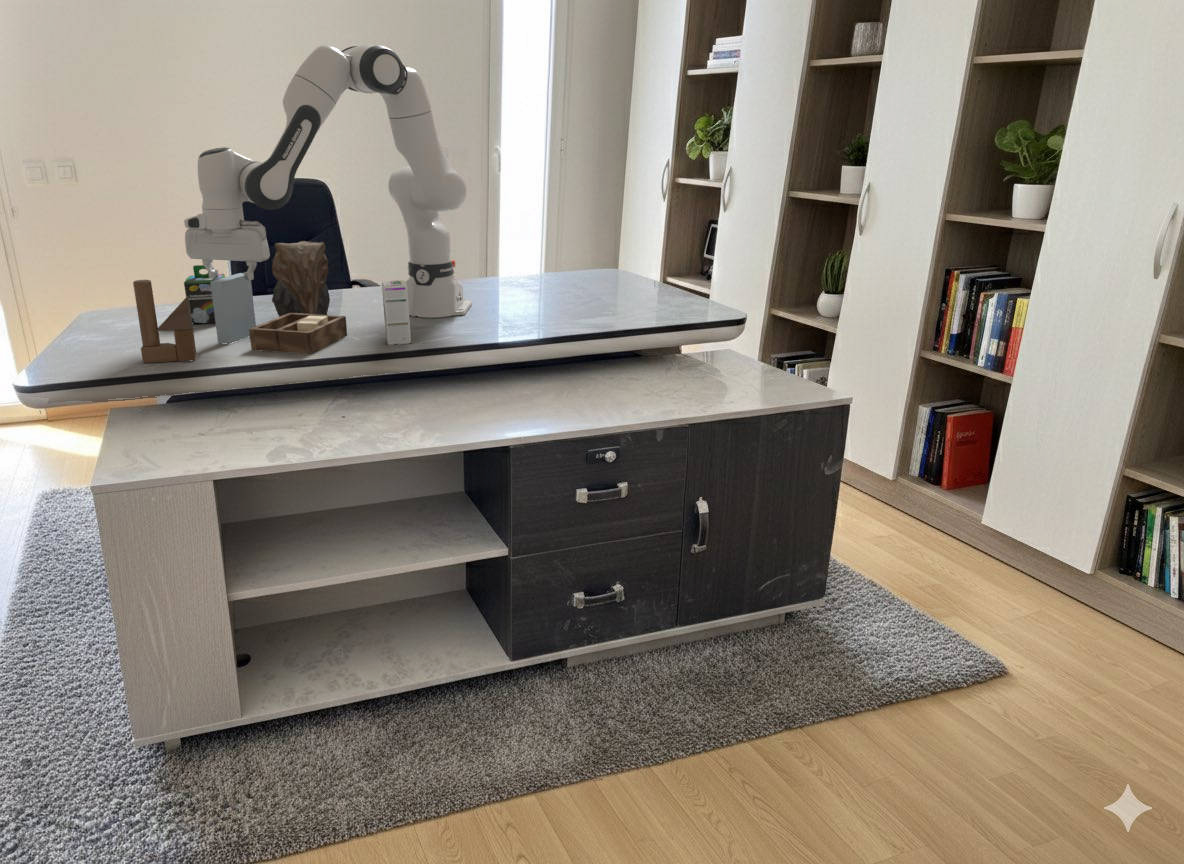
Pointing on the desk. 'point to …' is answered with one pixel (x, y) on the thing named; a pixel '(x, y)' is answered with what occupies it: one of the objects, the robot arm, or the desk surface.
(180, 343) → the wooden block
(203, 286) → the chalk box
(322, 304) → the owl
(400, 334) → the syrup box
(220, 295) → the tall sheet
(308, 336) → the walnut rack
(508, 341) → the desk surface
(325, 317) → the short pine offcut
